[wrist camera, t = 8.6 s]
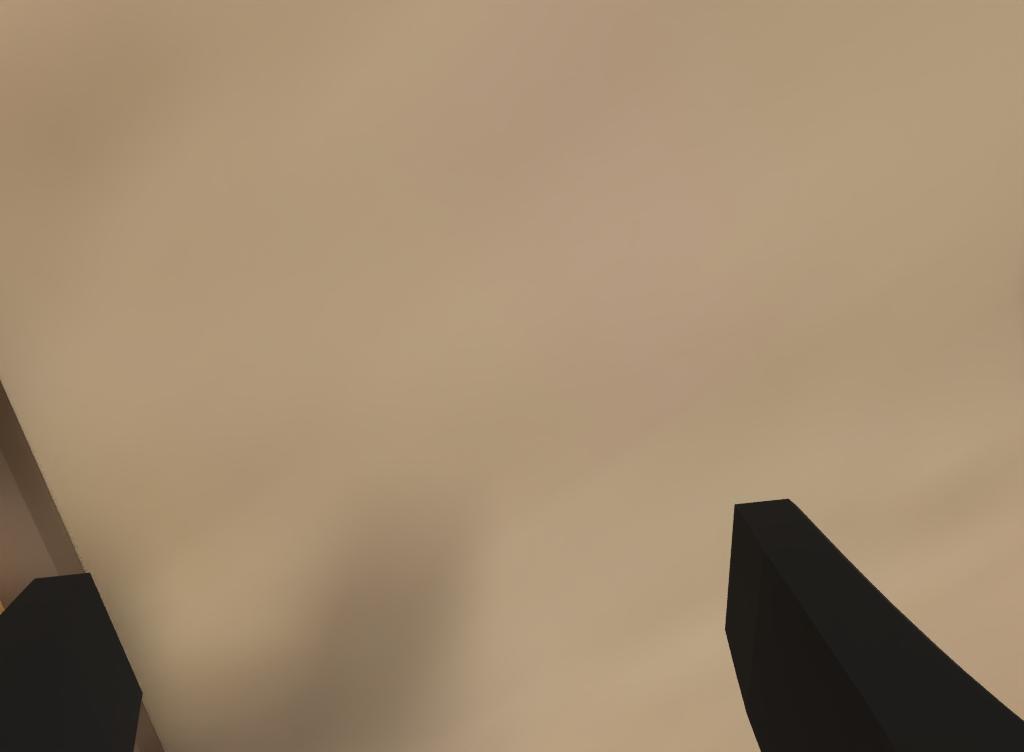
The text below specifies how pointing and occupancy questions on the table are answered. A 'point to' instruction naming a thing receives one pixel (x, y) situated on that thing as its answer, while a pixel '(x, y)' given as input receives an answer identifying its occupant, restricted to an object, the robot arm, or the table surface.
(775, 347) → the table surface
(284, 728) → the table surface
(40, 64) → the table surface
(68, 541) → the walnut board
